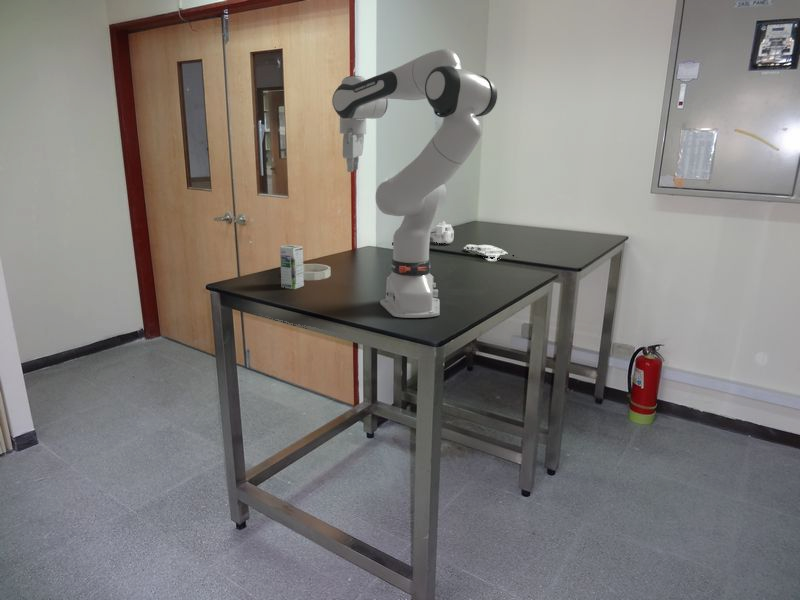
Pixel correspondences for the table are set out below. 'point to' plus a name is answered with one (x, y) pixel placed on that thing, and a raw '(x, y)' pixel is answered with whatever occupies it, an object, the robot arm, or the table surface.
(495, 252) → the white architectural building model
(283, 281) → the syrup box
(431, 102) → the robot arm
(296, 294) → the table surface
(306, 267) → the round bowl
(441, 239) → the mechanical part
